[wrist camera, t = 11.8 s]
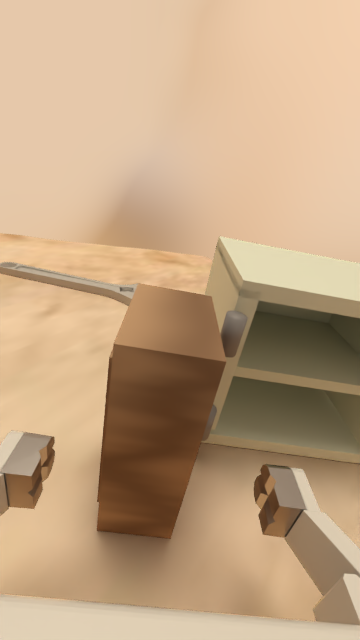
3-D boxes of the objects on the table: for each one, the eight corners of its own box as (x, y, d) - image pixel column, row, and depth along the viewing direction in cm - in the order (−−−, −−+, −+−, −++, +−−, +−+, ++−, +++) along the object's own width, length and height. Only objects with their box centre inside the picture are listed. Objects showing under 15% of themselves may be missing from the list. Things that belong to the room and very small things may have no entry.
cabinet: (187, 456, 20) (237, 287, 14) (185, 351, 32) (212, 235, 26) (378, 481, 21) (498, 334, 15) (308, 370, 33) (361, 263, 27)
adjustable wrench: (-7, 275, 42) (-8, 263, 41) (24, 264, 47) (23, 254, 46) (157, 317, 39) (159, 305, 38) (169, 300, 45) (170, 290, 44)
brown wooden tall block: (92, 530, 15) (106, 342, 10) (115, 437, 21) (133, 282, 15) (170, 538, 16) (226, 361, 10) (173, 445, 21) (211, 296, 15)
